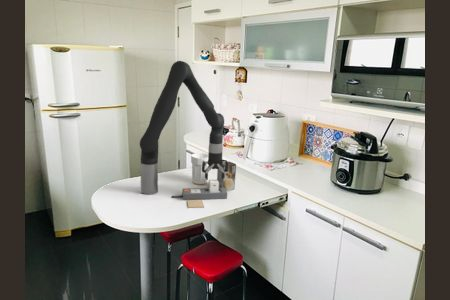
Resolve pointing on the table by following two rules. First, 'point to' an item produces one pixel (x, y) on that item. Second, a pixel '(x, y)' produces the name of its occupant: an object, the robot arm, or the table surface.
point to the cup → (198, 168)
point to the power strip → (202, 194)
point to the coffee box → (227, 177)
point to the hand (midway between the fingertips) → (214, 178)
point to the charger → (213, 186)
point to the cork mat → (195, 204)
